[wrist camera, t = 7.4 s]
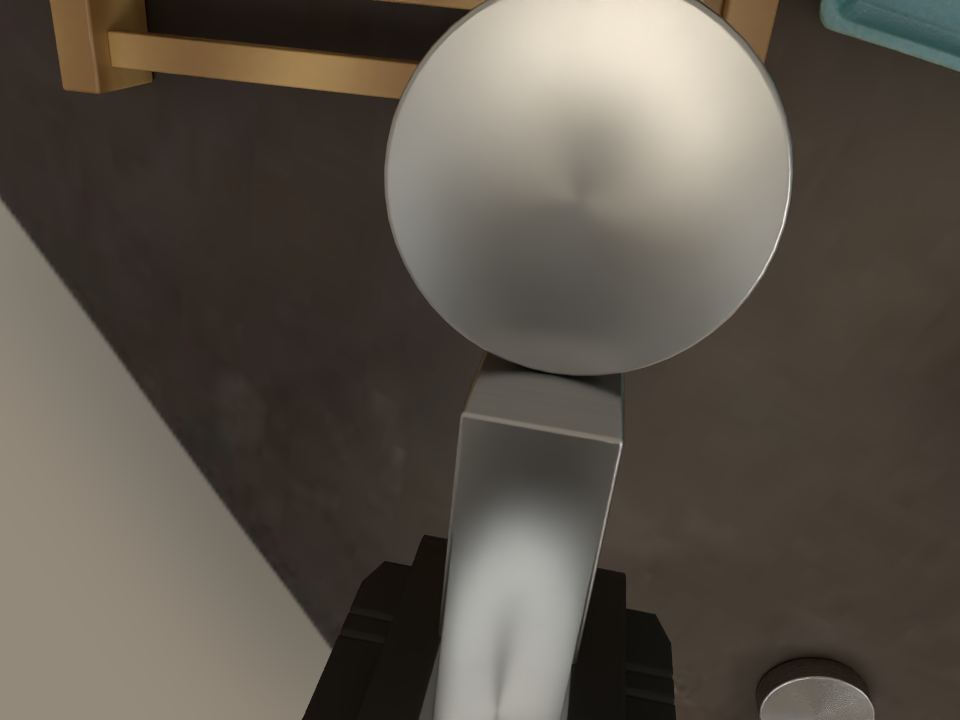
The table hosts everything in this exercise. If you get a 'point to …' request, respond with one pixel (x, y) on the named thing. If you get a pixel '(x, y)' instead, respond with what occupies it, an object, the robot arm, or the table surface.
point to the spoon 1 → (569, 285)
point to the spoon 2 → (813, 692)
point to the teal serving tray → (900, 26)
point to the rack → (266, 50)
